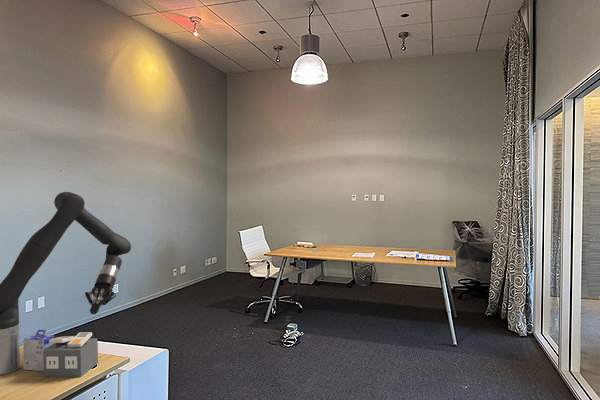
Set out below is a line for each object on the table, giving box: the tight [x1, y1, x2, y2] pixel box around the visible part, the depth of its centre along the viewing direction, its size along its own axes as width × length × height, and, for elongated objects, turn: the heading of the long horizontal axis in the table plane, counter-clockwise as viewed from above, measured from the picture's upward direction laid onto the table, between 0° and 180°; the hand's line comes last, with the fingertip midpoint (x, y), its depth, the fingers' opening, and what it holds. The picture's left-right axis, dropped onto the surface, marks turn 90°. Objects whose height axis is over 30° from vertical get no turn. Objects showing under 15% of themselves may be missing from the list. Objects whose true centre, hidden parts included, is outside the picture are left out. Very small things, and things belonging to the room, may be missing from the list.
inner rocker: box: [49, 335, 76, 344], centre depth 153 cm, size 5×8×1 cm, turn 179°
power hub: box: [43, 337, 99, 378], centre depth 153 cm, size 14×12×11 cm
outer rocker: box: [68, 331, 93, 347], centre depth 153 cm, size 5×8×1 cm, turn 179°
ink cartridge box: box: [22, 329, 55, 372], centre depth 155 cm, size 10×6×14 cm, turn 78°
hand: (93, 313), depth 163 cm, fingers closed
